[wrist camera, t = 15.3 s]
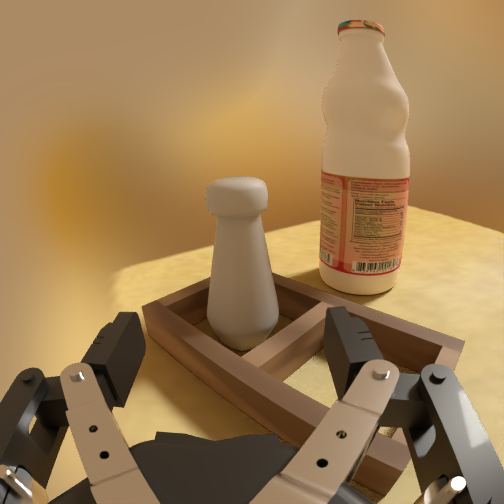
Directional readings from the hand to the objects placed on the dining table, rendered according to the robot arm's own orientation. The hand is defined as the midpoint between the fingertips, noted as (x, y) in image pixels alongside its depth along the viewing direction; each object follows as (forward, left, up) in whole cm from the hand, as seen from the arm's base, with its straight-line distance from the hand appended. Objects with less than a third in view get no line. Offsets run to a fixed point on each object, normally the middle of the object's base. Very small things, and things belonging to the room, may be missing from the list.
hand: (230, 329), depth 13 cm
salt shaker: (-8, -8, -9) cm, 14 cm away
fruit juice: (-24, -5, -9) cm, 26 cm away
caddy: (-8, -2, -8) cm, 12 cm away
